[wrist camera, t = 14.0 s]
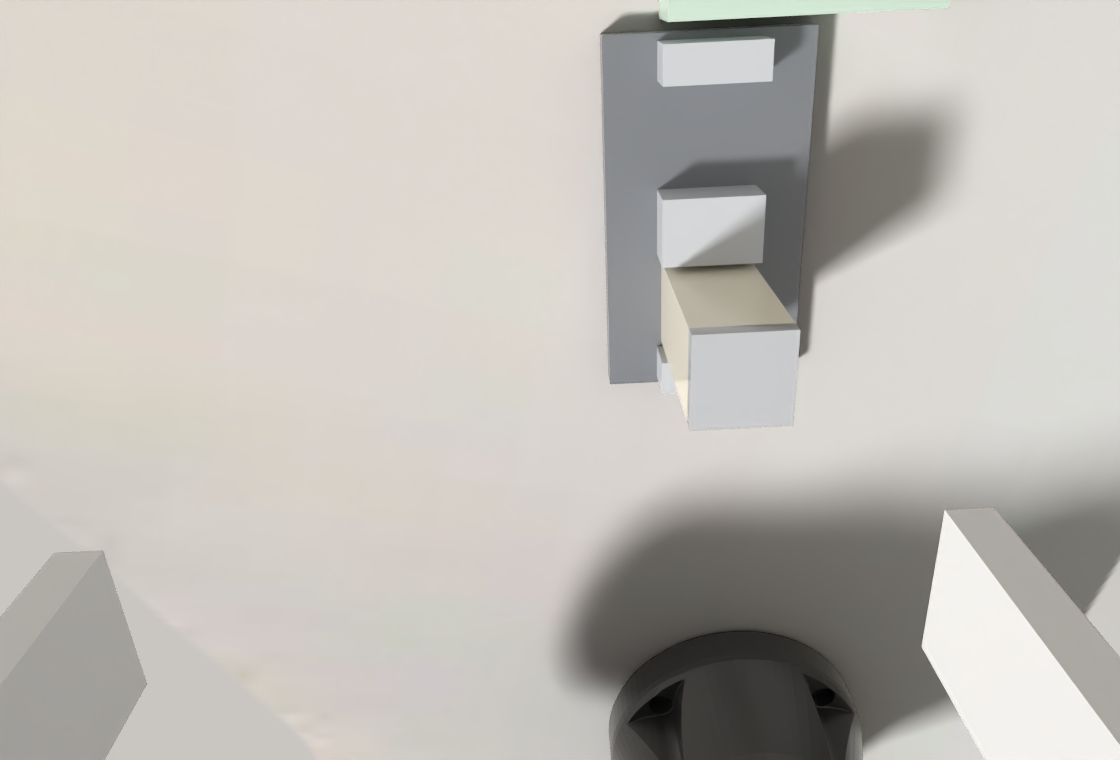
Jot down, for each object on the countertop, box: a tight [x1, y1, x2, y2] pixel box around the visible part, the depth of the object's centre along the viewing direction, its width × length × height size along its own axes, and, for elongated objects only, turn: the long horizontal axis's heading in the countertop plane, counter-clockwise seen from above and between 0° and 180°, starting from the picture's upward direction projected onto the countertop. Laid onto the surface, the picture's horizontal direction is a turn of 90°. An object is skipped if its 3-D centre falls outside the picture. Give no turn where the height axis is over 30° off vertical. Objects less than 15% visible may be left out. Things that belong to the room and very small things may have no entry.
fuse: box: [661, 263, 801, 431], centre depth 37 cm, size 4×4×9 cm
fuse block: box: [600, 23, 819, 394], centre depth 39 cm, size 16×9×3 cm, turn 3°
